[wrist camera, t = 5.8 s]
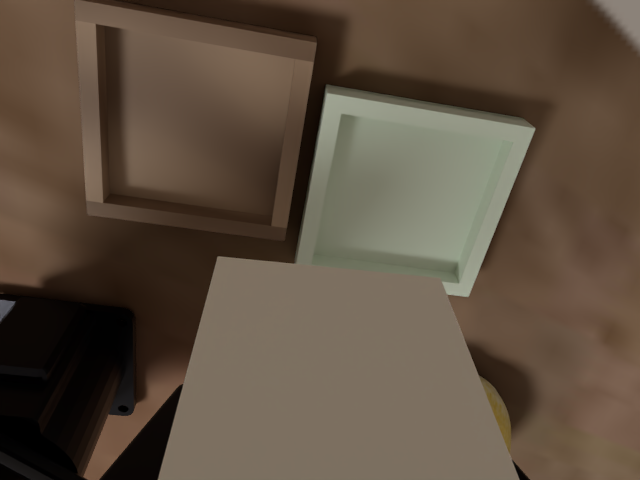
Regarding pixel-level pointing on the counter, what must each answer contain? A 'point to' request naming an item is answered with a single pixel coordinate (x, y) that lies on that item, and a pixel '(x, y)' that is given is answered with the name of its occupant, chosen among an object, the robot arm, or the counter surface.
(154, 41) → the walnut tray
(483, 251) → the green tray
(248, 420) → the letter block
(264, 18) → the counter surface
